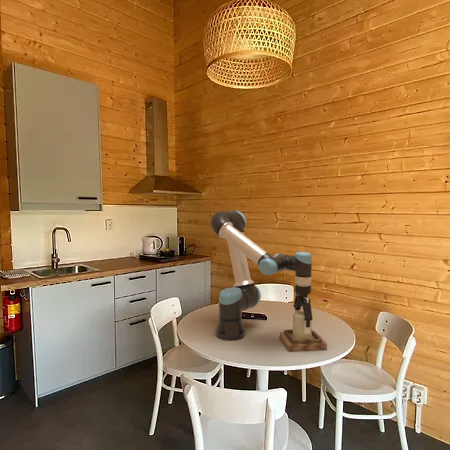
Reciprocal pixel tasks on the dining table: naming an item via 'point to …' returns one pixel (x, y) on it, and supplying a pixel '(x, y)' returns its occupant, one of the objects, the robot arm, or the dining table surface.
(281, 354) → the dining table surface
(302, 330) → the can
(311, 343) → the stand
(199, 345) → the dining table surface
